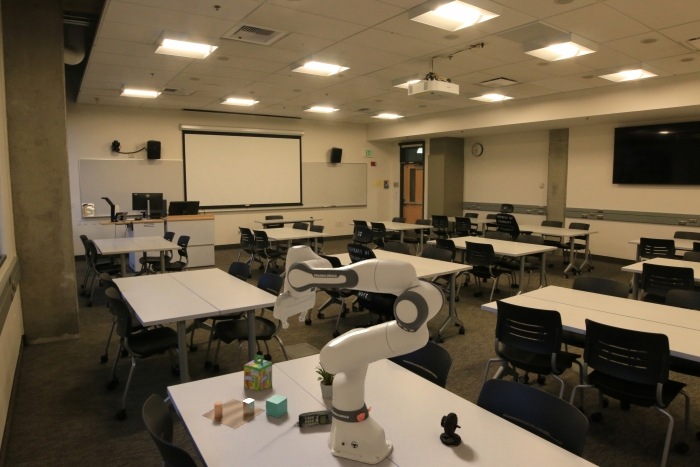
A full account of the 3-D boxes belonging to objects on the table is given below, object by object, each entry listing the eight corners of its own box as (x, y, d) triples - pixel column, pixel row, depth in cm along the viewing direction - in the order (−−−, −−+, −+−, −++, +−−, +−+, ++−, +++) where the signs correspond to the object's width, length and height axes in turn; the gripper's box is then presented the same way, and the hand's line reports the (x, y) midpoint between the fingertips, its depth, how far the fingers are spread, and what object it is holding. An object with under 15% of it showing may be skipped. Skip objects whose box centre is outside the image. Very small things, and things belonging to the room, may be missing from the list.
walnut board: (265, 413, 176) (265, 410, 176) (235, 432, 163) (235, 428, 162) (233, 402, 185) (233, 398, 185) (201, 419, 172) (201, 415, 172)
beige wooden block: (254, 412, 174) (254, 400, 174) (248, 415, 172) (248, 403, 171) (248, 410, 176) (248, 398, 175) (243, 413, 173) (243, 401, 173)
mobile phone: (298, 416, 165) (338, 410, 169) (297, 412, 168) (336, 407, 171) (299, 429, 166) (338, 423, 169) (298, 425, 168) (337, 419, 172)
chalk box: (243, 390, 196) (242, 357, 195) (257, 382, 204) (256, 350, 203) (260, 394, 192) (259, 361, 190) (273, 386, 200) (272, 354, 198)
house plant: (329, 409, 180) (329, 370, 178) (303, 399, 188) (303, 361, 186) (350, 396, 191) (350, 359, 189) (325, 387, 199) (325, 351, 197)
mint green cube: (287, 414, 175) (287, 397, 174) (277, 421, 170) (277, 404, 169) (276, 410, 178) (275, 394, 177) (266, 417, 173) (265, 400, 173)
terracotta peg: (224, 415, 172) (224, 403, 171) (218, 419, 169) (217, 406, 169) (219, 413, 173) (218, 401, 173) (212, 416, 171) (212, 404, 170)
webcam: (445, 432, 163) (446, 405, 162) (465, 439, 159) (465, 412, 157) (435, 441, 157) (436, 414, 156) (455, 449, 153) (455, 421, 151)
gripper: (284, 296, 153) (281, 334, 155) (319, 285, 170) (316, 319, 172) (270, 292, 156) (268, 329, 158) (306, 281, 173) (303, 315, 175)
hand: (293, 324), depth 165 cm, fingers open, 8 cm apart
